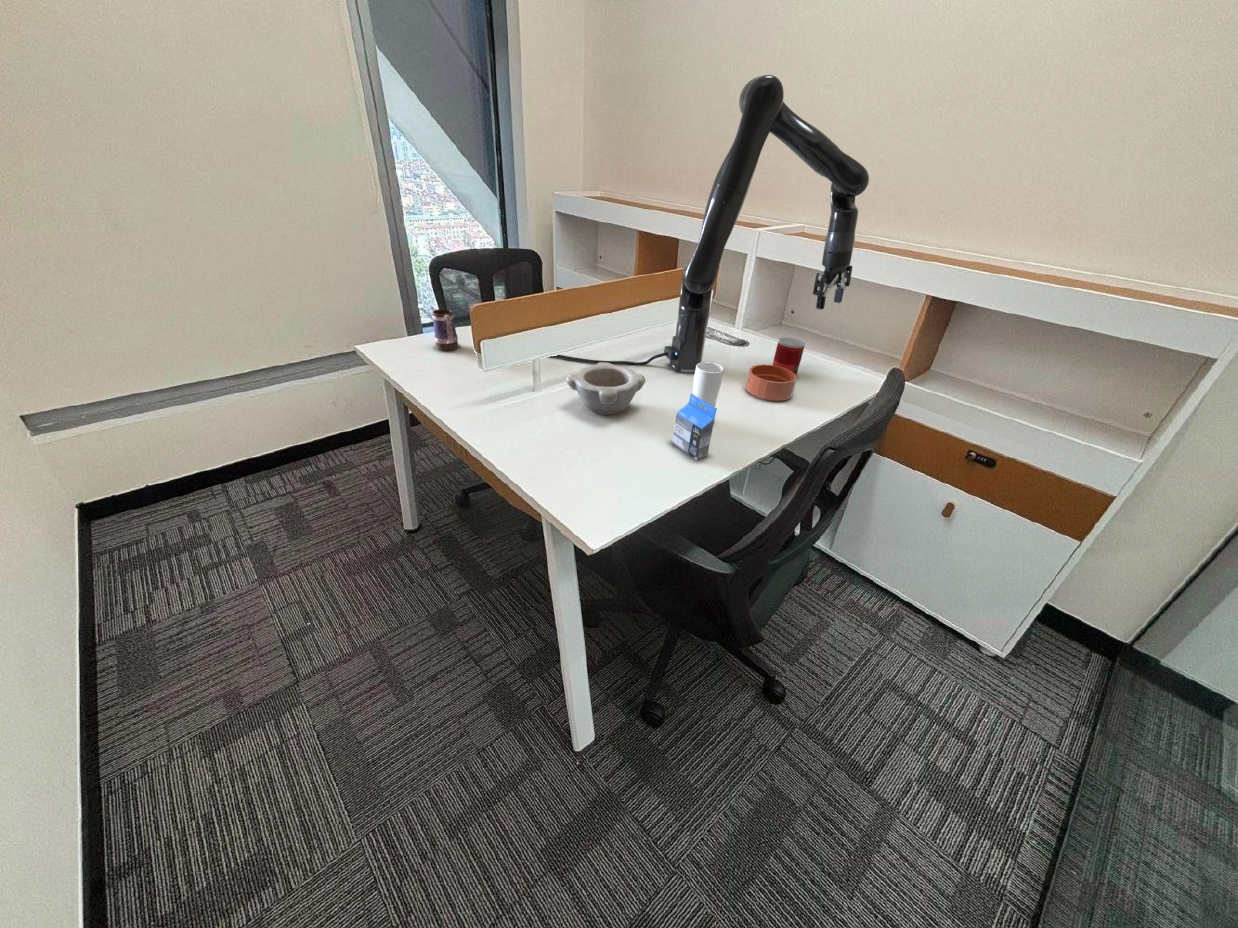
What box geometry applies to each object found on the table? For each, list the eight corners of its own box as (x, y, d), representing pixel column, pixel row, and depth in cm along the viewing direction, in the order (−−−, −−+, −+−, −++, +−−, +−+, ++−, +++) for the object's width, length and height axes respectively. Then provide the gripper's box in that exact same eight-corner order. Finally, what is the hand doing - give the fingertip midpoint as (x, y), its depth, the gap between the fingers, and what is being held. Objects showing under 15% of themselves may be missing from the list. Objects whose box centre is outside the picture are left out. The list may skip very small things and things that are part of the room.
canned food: (797, 381, 155) (806, 347, 149) (771, 377, 156) (779, 344, 150) (794, 372, 161) (803, 339, 155) (769, 368, 162) (777, 336, 156)
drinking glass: (707, 430, 125) (717, 375, 117) (683, 422, 128) (691, 367, 119) (717, 420, 130) (728, 366, 121) (694, 412, 132) (702, 359, 124)
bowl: (761, 404, 139) (766, 384, 136) (737, 384, 150) (740, 366, 147) (800, 400, 143) (806, 380, 140) (774, 381, 154) (779, 362, 151)
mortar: (560, 405, 131) (560, 373, 126) (604, 388, 142) (606, 357, 137) (605, 429, 122) (607, 396, 117) (649, 408, 133) (652, 377, 128)
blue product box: (671, 443, 119) (677, 396, 112) (683, 439, 120) (690, 392, 114) (696, 460, 113) (704, 412, 106) (708, 456, 115) (717, 408, 108)
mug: (433, 345, 162) (428, 308, 155) (455, 342, 165) (451, 306, 158) (440, 356, 155) (435, 317, 148) (463, 353, 158) (459, 315, 151)
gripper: (841, 241, 145) (832, 298, 154) (811, 250, 139) (802, 308, 148) (865, 244, 140) (854, 302, 149) (835, 253, 133) (824, 313, 142)
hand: (828, 305), depth 148 cm, fingers open, 8 cm apart
